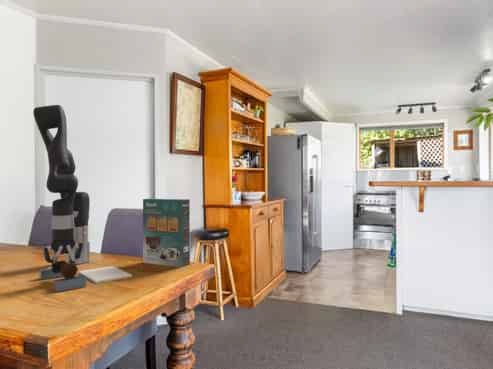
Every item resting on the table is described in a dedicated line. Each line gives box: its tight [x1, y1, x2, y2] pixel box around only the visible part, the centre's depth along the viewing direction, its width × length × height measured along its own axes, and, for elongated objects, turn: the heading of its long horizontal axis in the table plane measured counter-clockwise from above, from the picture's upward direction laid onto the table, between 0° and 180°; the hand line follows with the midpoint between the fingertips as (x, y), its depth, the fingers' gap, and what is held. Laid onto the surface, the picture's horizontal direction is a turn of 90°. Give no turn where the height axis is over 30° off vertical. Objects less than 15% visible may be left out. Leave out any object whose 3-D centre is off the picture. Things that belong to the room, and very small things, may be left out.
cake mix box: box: [142, 198, 191, 268], centre depth 166 cm, size 22×6×30 cm, turn 66°
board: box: [78, 265, 133, 284], centre depth 145 cm, size 14×20×1 cm
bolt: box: [56, 259, 79, 279], centre depth 135 cm, size 6×5×15 cm
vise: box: [38, 266, 87, 293], centre depth 137 cm, size 10×30×4 cm, turn 42°
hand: (63, 271), depth 135 cm, fingers closed on bolt, 5 cm apart
